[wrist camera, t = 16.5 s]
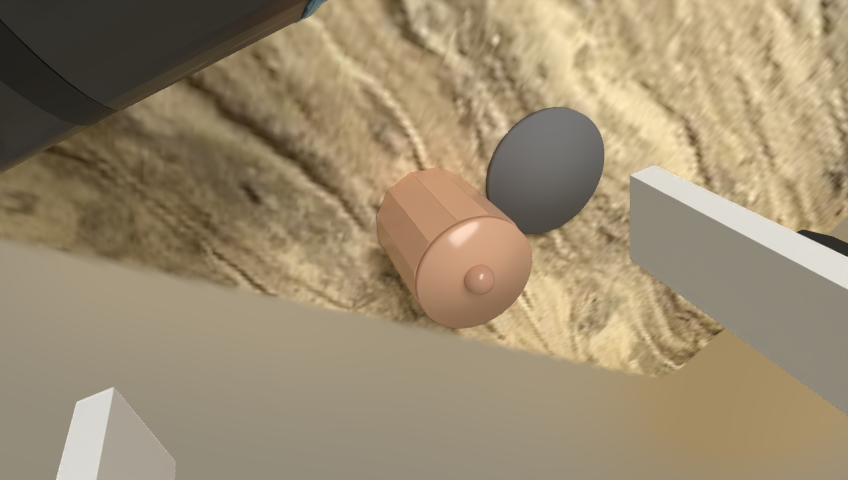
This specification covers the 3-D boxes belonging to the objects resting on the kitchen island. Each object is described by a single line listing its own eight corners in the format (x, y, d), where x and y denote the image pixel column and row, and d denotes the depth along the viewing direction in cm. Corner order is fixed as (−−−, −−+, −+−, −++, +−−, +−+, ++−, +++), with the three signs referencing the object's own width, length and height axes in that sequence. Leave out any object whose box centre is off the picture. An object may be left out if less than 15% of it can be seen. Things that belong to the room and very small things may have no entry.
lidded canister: (382, 272, 51) (428, 354, 40) (372, 179, 46) (422, 246, 36) (473, 250, 54) (538, 322, 43) (473, 160, 49) (547, 217, 38)
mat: (495, 248, 54) (499, 251, 54) (476, 133, 47) (480, 135, 47) (600, 204, 57) (605, 207, 56) (597, 89, 50) (602, 91, 49)
